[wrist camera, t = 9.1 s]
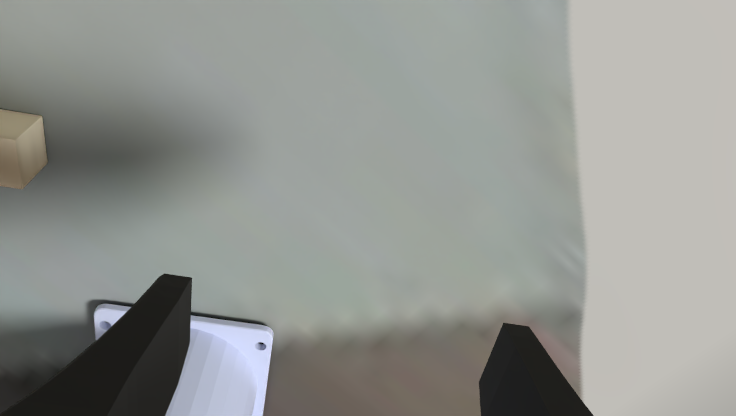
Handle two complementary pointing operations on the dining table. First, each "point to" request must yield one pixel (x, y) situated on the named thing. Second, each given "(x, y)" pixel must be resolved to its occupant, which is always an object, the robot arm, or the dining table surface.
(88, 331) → the dining table surface
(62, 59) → the dining table surface
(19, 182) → the slide channel
